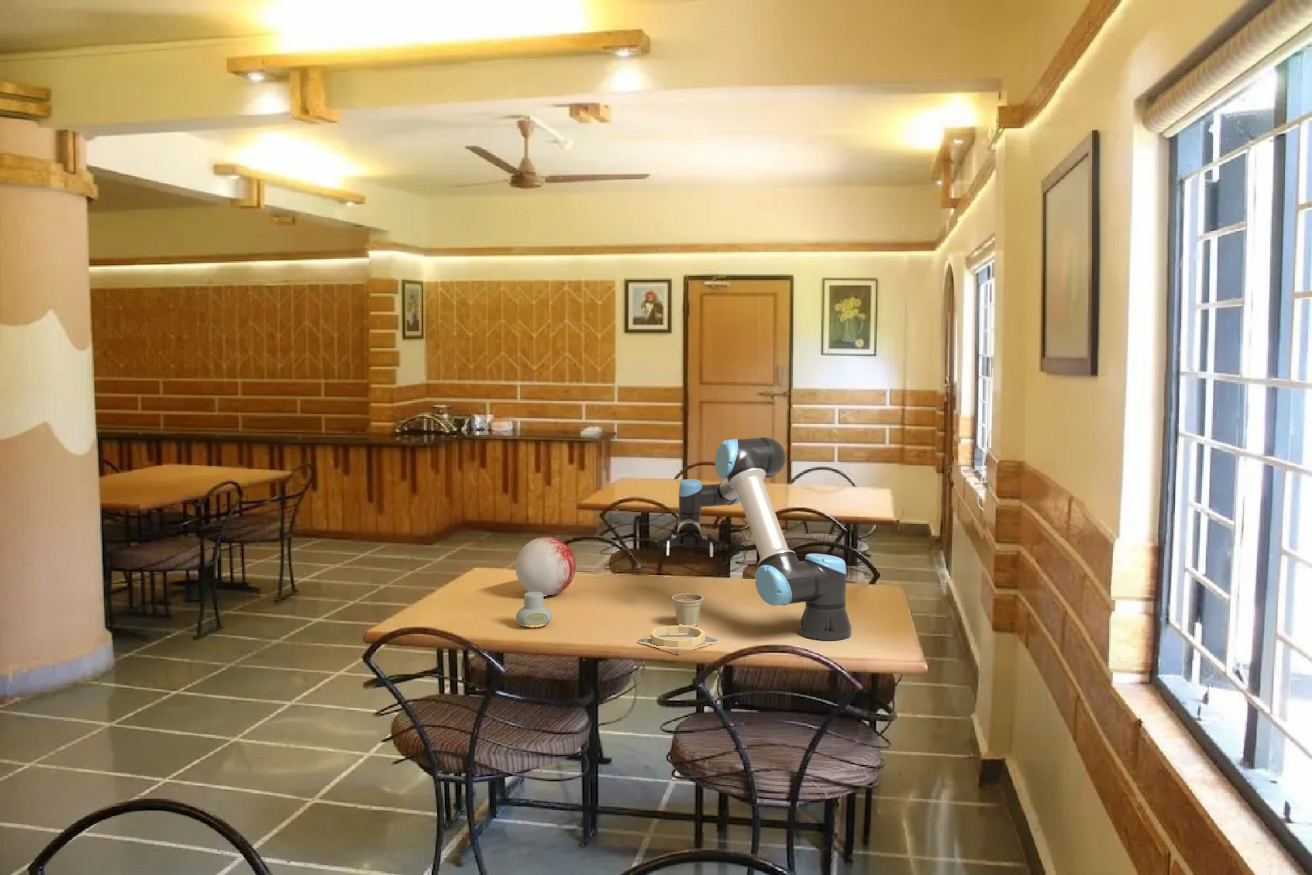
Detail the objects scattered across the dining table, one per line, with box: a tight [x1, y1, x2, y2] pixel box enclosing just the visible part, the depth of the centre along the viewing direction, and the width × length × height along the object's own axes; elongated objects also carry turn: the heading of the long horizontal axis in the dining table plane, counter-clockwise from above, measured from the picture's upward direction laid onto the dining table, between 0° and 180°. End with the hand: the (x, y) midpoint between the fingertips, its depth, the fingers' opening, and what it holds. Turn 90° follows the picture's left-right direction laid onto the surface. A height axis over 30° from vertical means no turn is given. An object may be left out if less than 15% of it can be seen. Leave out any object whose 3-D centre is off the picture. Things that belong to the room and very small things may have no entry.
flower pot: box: [671, 593, 704, 625], centre depth 314 cm, size 9×9×9 cm
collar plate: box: [638, 625, 718, 653], centre depth 296 cm, size 16×16×3 cm
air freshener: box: [515, 591, 553, 626], centre depth 315 cm, size 11×8×10 cm
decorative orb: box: [515, 536, 577, 596], centre depth 351 cm, size 21×20×20 cm
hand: (689, 551), depth 322 cm, fingers open, 13 cm apart
